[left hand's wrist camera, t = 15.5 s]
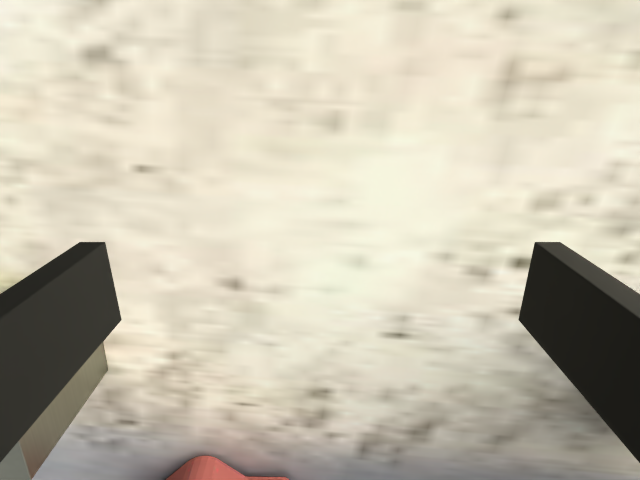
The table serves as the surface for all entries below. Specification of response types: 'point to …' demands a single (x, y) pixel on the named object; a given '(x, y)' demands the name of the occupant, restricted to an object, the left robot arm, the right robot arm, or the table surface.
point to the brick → (53, 421)
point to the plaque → (211, 471)
